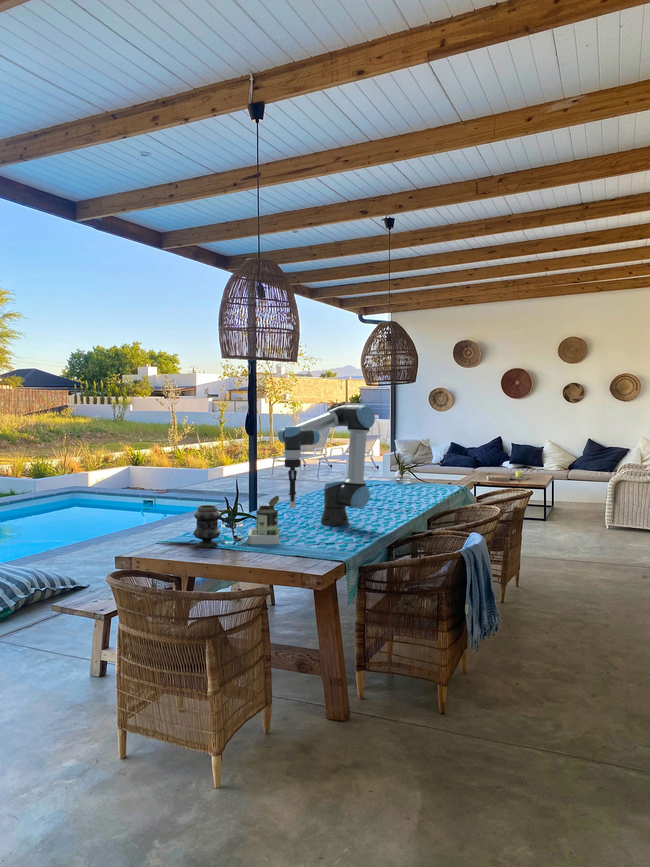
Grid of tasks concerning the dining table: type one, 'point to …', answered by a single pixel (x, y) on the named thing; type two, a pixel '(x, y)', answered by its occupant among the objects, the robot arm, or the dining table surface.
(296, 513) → the dining table surface
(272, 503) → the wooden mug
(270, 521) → the coffee can
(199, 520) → the stone vase
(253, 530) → the tray
